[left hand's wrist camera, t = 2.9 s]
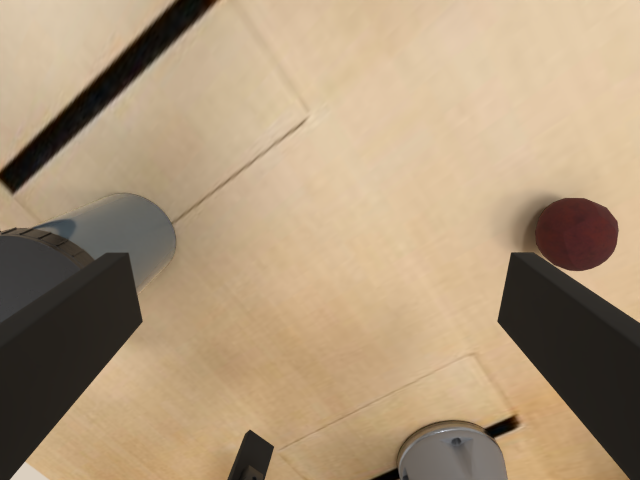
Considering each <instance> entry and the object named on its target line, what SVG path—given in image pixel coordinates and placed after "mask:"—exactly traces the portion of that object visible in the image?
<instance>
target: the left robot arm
mask: <svg viewBox="0 0 640 480" xmlns="http://www.w3.org/2000/svg"><path fill="white" fill-rule="evenodd" d="M142 322H143V321H142V316H141V311H140V306H139V301H138V296H137V291H136V286H135V281H134V276H133V271H132V266H131V261H130V256H129V253H105V254H103V255H102V256H100V257H99V258H97V259H96V260H94V261H93V262H91V263H90V264H88V265H87V266H85V267H84V268H82V269H81V270H79V271H78V272H76V273H75V274H73V275H72V276H70V277H69V278H67V279H66V280H64V281H63V282H61V283H60V284H58V285H57V286H55V287H54V288H52V289H51V290H49V291H48V292H46V293H45V294H43V295H42V296H40V297H39V298H37V299H36V300H34V301H33V302H31V303H30V304H28V305H27V306H25V307H24V308H22V309H21V310H19V311H18V312H16V313H15V314H13V315H12V316H10V317H9V318H7V319H6V320H4V321H3V322H1V323H0V480H10V479H11V478H12V476H13V475H14V474H15V473H16V472H17V470H18V469H19V468H20V467H21V466H22V464H23V463H24V462H25V461H26V460H27V458H28V457H29V456H30V455H31V454H32V453H33V451H34V450H35V449H36V448H37V447H38V445H39V444H40V443H41V442H42V441H43V439H44V438H45V437H46V436H47V435H48V434H49V432H50V431H51V430H52V429H53V428H54V426H55V425H56V424H57V423H58V422H59V420H60V419H61V418H62V417H63V416H64V414H65V413H66V412H67V411H68V410H69V409H70V407H71V406H72V405H73V404H74V403H75V401H76V400H77V399H78V398H79V397H80V395H81V394H82V393H83V392H84V391H85V389H86V388H87V387H88V386H89V385H90V384H91V382H92V381H93V380H94V379H95V378H96V376H97V375H98V374H99V373H100V372H101V370H102V369H103V368H104V367H105V366H106V365H107V363H108V362H109V361H110V360H111V359H112V357H113V356H114V355H115V354H116V353H117V351H118V350H119V349H120V348H121V347H122V345H123V344H124V343H125V342H126V341H127V340H128V338H129V337H130V336H131V335H132V334H133V332H134V331H135V330H136V329H137V328H138V326H139V325H140V324H141V323H142ZM497 322H498V323H499V324H500V325H501V326H502V328H503V329H504V330H505V331H506V332H507V334H508V335H509V336H510V337H511V338H512V340H513V341H514V342H515V343H516V344H517V345H518V347H519V348H520V349H521V350H522V351H523V353H524V354H525V355H526V356H527V357H528V359H529V360H530V361H531V362H532V363H533V365H534V366H535V367H536V368H537V369H538V370H539V372H540V373H541V374H542V375H543V376H544V378H545V379H546V380H547V381H548V382H549V384H550V385H551V386H552V387H553V388H554V389H555V391H556V392H557V393H558V394H559V395H560V397H561V398H562V399H563V400H564V401H565V403H566V404H567V405H568V406H569V407H570V409H571V410H572V411H573V412H574V413H575V414H576V416H577V417H578V418H579V419H580V420H581V422H582V423H583V424H584V425H585V426H586V428H587V429H588V430H589V431H590V432H591V434H592V435H593V436H594V437H595V438H596V439H597V441H598V442H599V443H600V444H601V445H602V447H603V448H604V449H605V450H606V451H607V453H608V454H609V455H610V456H611V457H612V458H613V460H614V461H615V462H616V463H617V464H618V466H619V467H620V468H621V469H622V470H623V472H624V473H625V474H626V475H627V476H628V478H629V479H630V480H640V323H639V322H637V321H636V320H634V319H633V318H631V317H630V316H628V315H627V314H625V313H624V312H622V311H621V310H619V309H618V308H616V307H615V306H613V305H612V304H610V303H609V302H607V301H606V300H604V299H603V298H601V297H600V296H598V295H597V294H595V293H594V292H592V291H591V290H589V289H588V288H586V287H585V286H583V285H582V284H580V283H579V282H577V281H576V280H574V279H573V278H571V277H570V276H568V275H567V274H565V273H564V272H562V271H561V270H559V269H558V268H556V267H555V266H553V265H552V264H550V263H549V262H547V261H546V260H544V259H543V258H541V257H540V256H538V255H537V254H535V253H511V256H510V261H509V266H508V271H507V276H506V281H505V286H504V291H503V296H502V301H501V306H500V311H499V316H498V321H497Z"/></svg>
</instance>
